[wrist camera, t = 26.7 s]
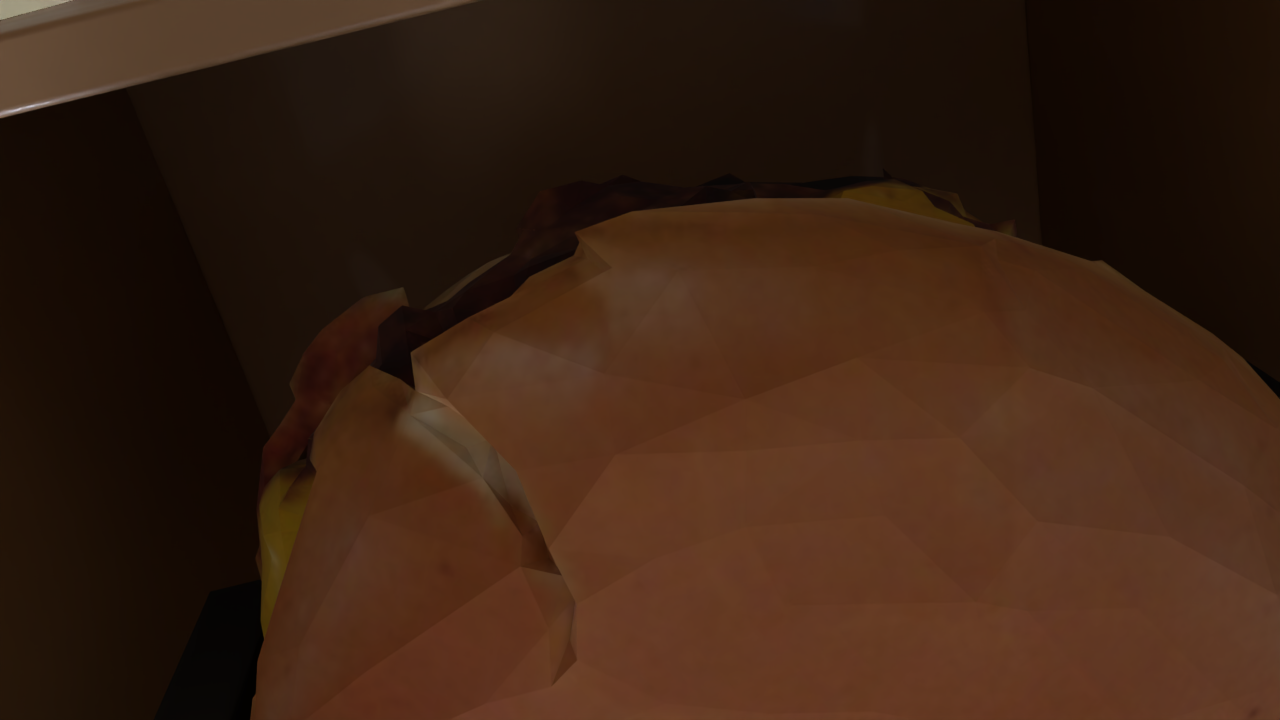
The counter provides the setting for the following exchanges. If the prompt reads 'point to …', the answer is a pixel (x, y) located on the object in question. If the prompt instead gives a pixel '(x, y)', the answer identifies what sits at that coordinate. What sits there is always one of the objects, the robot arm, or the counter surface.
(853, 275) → the burger
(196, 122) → the carton
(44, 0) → the counter surface
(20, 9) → the counter surface
